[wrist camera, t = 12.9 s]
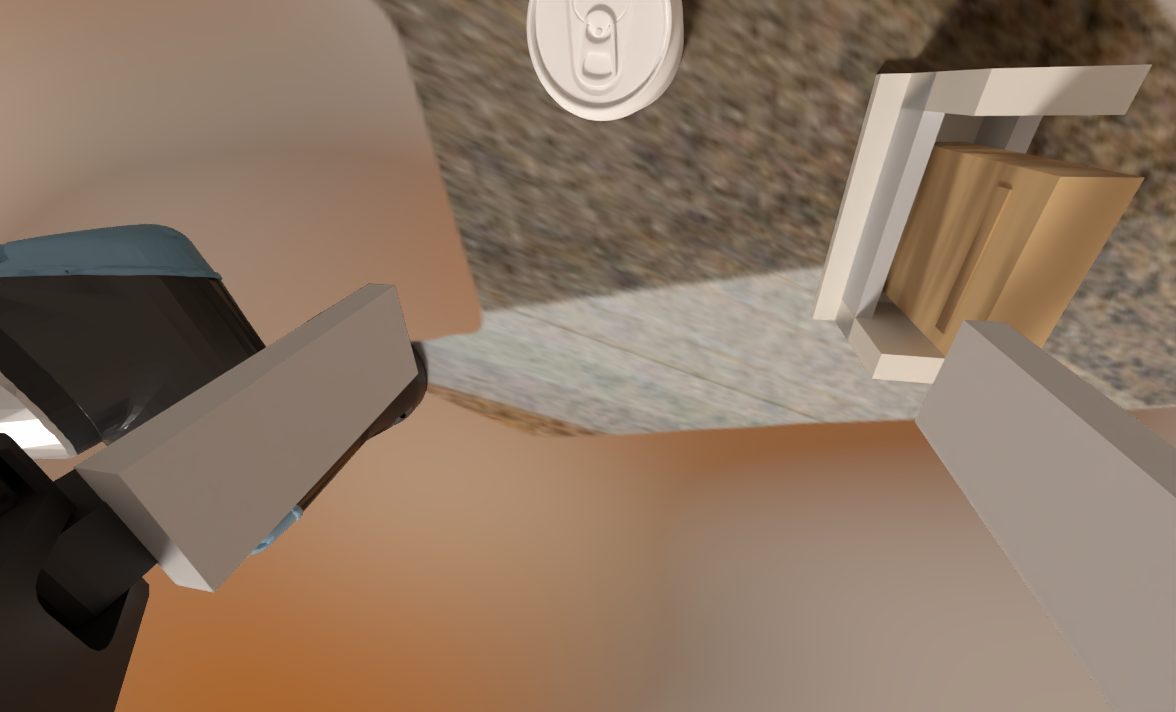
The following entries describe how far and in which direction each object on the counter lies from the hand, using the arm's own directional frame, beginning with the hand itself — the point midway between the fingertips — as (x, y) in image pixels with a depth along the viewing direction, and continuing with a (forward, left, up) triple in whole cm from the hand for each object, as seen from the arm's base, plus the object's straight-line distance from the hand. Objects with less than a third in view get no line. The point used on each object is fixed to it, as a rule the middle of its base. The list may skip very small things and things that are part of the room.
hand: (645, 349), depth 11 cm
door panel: (+18, -3, -28) cm, 33 cm away
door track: (+18, -3, -29) cm, 34 cm away
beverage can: (-4, +8, -29) cm, 30 cm away
